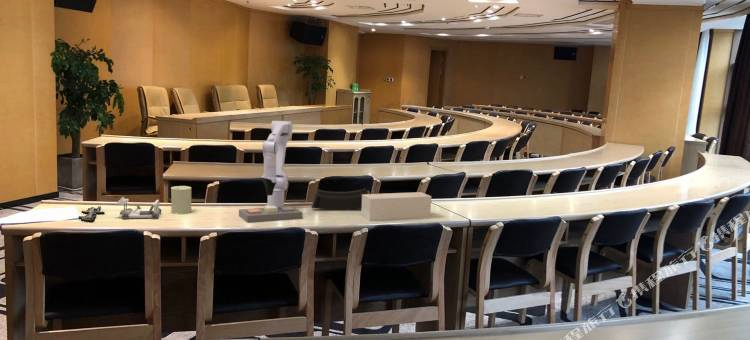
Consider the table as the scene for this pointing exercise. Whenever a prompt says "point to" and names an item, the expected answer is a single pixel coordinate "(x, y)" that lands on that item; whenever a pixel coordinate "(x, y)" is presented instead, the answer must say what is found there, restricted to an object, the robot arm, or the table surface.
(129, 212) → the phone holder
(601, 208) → the table surface
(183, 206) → the can
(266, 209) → the key cream
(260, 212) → the key terracotta
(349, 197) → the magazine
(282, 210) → the key slate
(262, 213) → the keypad
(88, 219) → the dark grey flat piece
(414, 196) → the beige rectangular block
